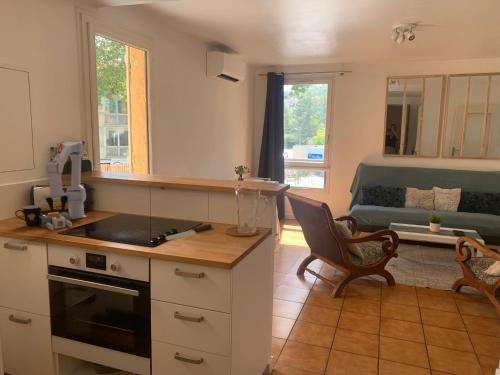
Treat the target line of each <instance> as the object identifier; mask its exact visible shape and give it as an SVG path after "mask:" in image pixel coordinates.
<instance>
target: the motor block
mask: <svg viewBox="0 0 500 375" xmlns="http://www.w3.org/2000/svg"><path fill="white" fill-rule="evenodd" d="M56 216H63V217H64V218H65V220H68V221H70V222H71V218H70V214H69V212H65V211H62V212H59V211H55V212H48V213H47V214H41V216H39V226H38V227H40V226H41V229H43V228H47V227H46V222H49V223H50V224H52V225H53V223H52V218H54V217H56Z"/></svg>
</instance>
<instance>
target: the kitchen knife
mask: <svg viewBox="0 0 500 375" xmlns="http://www.w3.org/2000/svg"><path fill="white" fill-rule="evenodd" d="M212 228H213V225H212V224H211V223H208V224H207V223H206V224H203V225H199V226H195V227H193V228H191V229H189V230H187V231H183V232H179V233H176V234H172V235H167V236H165V240H167V241H170V240H171V241H172V240H175V239H176V240H177V239H181V238H185V237H189V236H194V235H196V234H197V232H202V231H206V230H211V229H212ZM197 235H198V234H197Z"/></svg>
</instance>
